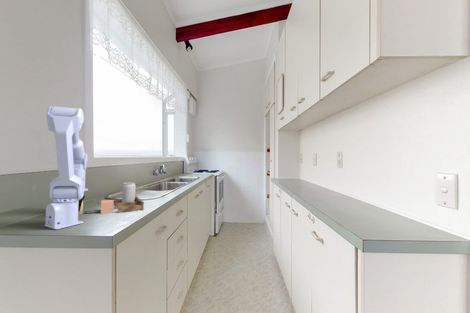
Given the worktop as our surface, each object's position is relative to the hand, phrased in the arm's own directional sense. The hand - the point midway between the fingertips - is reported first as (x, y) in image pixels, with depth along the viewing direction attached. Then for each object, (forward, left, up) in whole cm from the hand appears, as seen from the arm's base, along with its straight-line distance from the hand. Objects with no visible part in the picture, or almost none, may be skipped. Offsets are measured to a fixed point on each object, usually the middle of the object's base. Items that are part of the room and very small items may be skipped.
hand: (76, 210), depth 101 cm
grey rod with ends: (+6, -4, -2) cm, 7 cm away
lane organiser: (+21, -7, -2) cm, 22 cm away
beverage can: (+24, -4, -2) cm, 24 cm away
